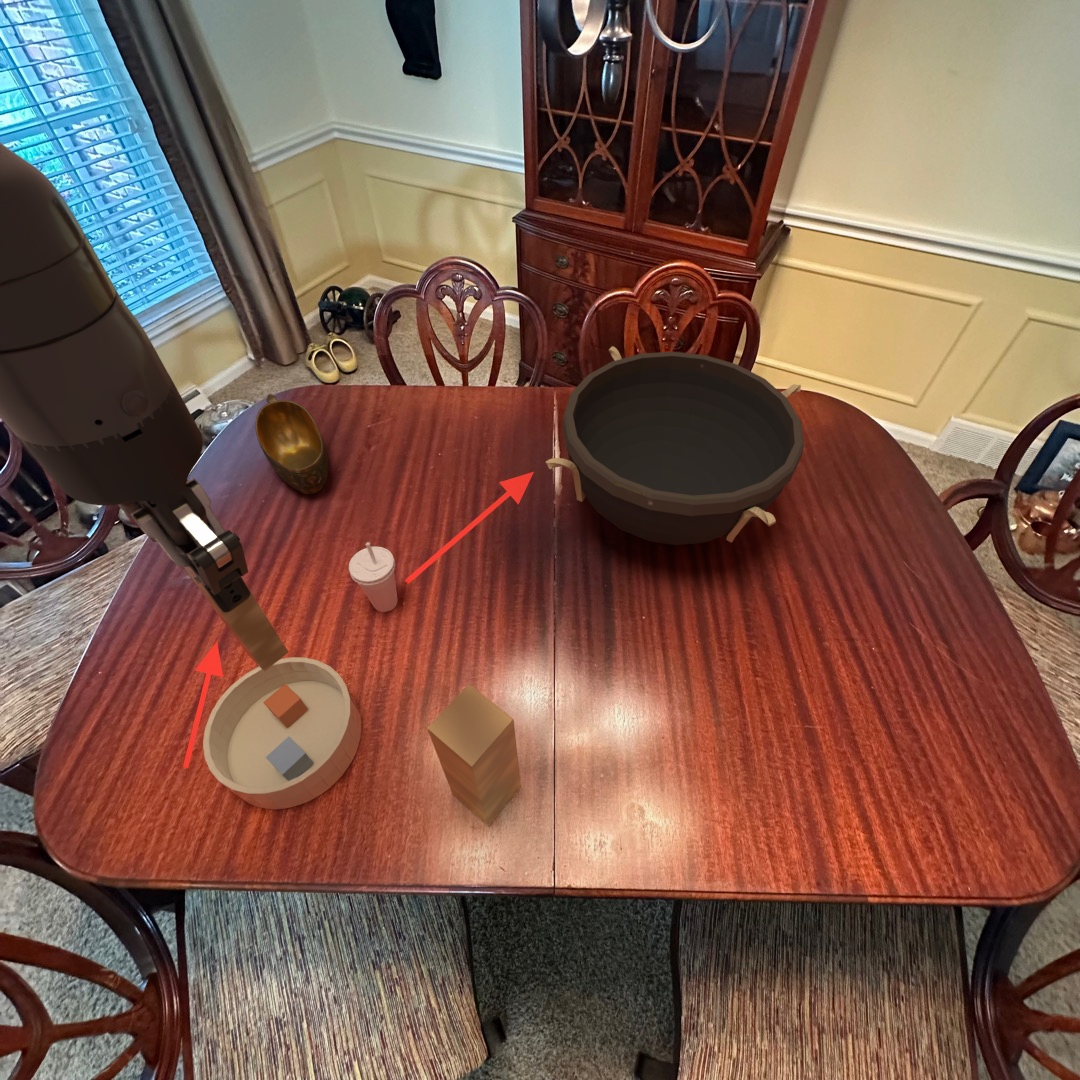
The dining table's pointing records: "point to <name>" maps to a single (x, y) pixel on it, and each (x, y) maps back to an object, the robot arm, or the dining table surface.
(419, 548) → the dining table surface
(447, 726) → the oak stand
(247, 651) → the wooden square bar
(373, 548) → the smoothie
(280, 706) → the terracotta block
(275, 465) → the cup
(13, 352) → the robot arm
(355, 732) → the round beige tray
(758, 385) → the bowl
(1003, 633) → the dining table surface
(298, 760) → the bluegrey block
